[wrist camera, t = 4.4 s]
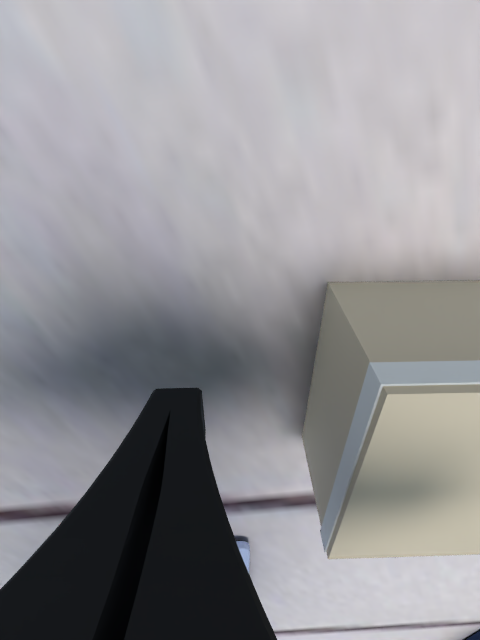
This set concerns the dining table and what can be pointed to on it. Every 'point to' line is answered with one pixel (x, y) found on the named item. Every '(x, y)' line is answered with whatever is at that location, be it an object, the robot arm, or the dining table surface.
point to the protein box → (474, 636)
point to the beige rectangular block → (397, 419)
